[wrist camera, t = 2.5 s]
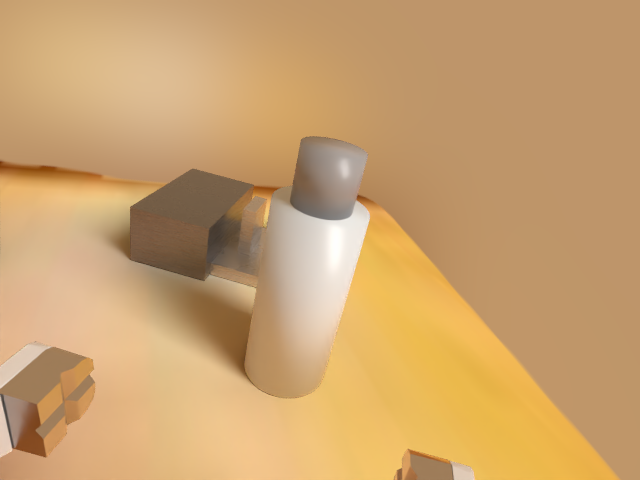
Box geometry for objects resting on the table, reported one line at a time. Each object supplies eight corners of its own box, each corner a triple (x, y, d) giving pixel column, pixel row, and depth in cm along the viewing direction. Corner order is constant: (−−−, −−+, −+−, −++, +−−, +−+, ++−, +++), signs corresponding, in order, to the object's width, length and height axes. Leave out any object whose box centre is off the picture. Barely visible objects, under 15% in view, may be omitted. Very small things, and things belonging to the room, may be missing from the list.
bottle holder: (130, 259, 32) (130, 200, 30) (189, 211, 41) (192, 163, 39) (327, 316, 31) (343, 259, 29) (344, 254, 40) (357, 207, 38)
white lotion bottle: (232, 383, 24) (268, 146, 18) (258, 329, 28) (295, 124, 22) (316, 408, 24) (384, 176, 17) (330, 350, 28) (388, 148, 22)
